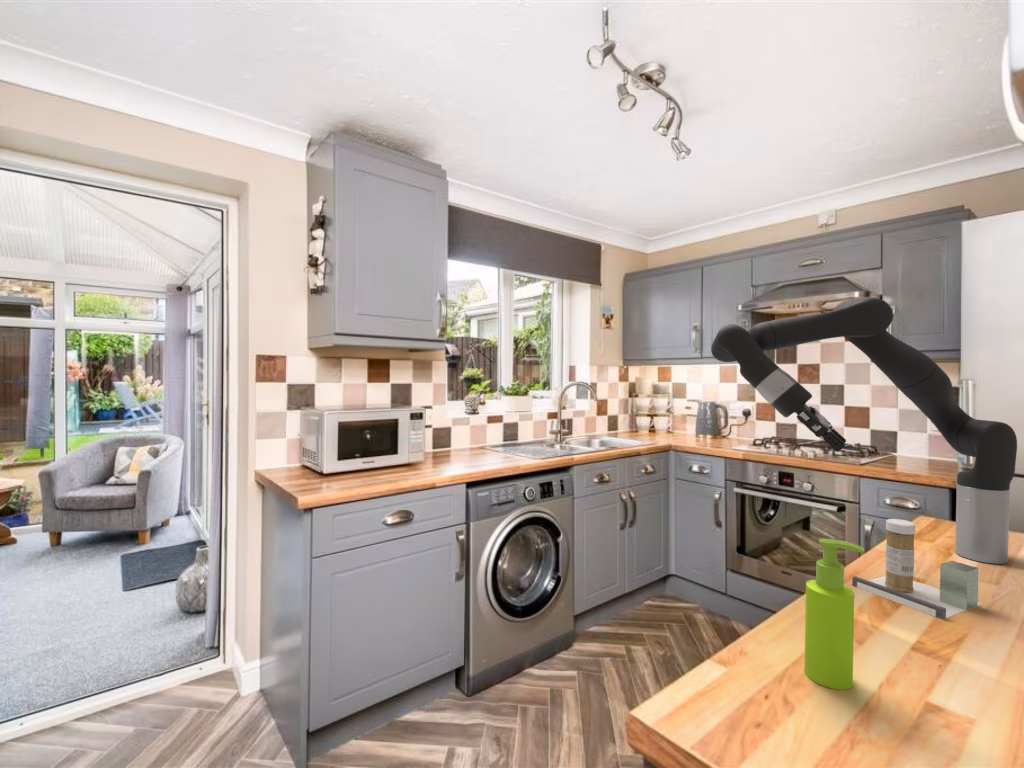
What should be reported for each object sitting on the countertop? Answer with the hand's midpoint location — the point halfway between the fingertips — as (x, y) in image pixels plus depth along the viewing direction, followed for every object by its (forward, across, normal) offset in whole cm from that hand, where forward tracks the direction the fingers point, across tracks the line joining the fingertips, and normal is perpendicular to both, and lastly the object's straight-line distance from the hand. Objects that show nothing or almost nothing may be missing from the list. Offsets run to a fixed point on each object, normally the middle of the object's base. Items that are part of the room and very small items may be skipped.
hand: (842, 446), depth 106 cm
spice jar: (+26, -4, +12) cm, 29 cm away
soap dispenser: (+20, -44, +20) cm, 52 cm away
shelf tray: (+29, -6, +12) cm, 32 cm away
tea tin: (+32, -6, +6) cm, 33 cm away
